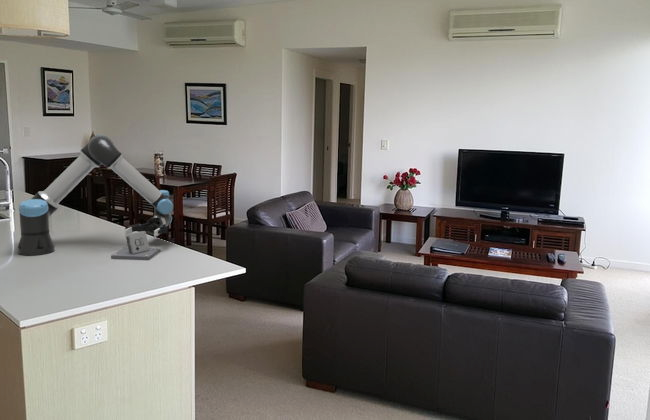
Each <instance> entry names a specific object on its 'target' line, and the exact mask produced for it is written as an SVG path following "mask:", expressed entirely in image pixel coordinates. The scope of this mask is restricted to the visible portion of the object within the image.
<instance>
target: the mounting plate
mask: <svg viewBox="0 0 650 420" xmlns="http://www.w3.org/2000/svg"><path fill="white" fill-rule="evenodd" d="M160 252H161V247H149V250H148V251H144V252H140V253H136V254H132V253H129V249H128V246H124V247H123V248H121V249H119V250H117V251H116V252H115V253H113V254H111V255H110V259H111V260H133V261H134V260H135V261H136V260H137V261H150V260H151V259H153V258H154V257H155V256H156V255H158V254H159V253H160Z"/></svg>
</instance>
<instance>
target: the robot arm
mask: <svg viewBox="0 0 650 420" xmlns="http://www.w3.org/2000/svg"><path fill="white" fill-rule="evenodd" d="M101 166H104V167H105V168H106V169H108V170H112V171H113V172H114V173H115V174H117V175H118V177H120V178H121V179H122V180H123V181H124V182H125V183H127V184H128V185H129V186H130V187H131V188H133V190H134V191H136V192H137V193H138V194H139V195H140V196H141V197H142V198H144V199H145V200H146V201H147V202H148V203H149V204H151V206H153V208H154V213H153V214H154V216H153V217H150V218H149V219H148V220H147V221H146V223H142V224H141V223H140V222H139V223H135V224H131V225H128V226H127V225H125V228H124V229H125V230H124V234H125V235H124V236H125V237H126V236H128V235H129V234H131V233H136V232H141V231H145V232H149V233H152V234H153V237H154V238H155V237H158V236H159V235H162V234H168V226H169V225H170V224H171V223H172V220H173V216H172V215H171V213H172V211H173V209H174V204H173V202H172V200H170V192H169V191H168V190H165V189H160V190H159V189H158V188H157V186H155V185H154V184H153V183H151V182H150V181H149V179H147V178H146V177H145V176H144V175H143V174H141V173H140V172H139V171H138V169H136V168H135V167H134V166H133V165H131V164H130V162H128V161H127V160H126V159H125V158H124V157H123V153H122V152H120V151H119V150H118V148H117V147H116V146H115V144H114V142H113V141H112V140H111V138H110V137H108V136H106V135H103V134H100V135H99V134H98V135H94V136H93V137H91V138H90V140H89V141H88V142H87V143H86V144H85V145H84V146H83V147H82V148H81V149H80V154H79V156H78V157H77V158H76V159H75V160H74V161H72V163H70V165H69V166H68V167H66V169H65V170H64V171H63V172H62V173H60V175H59V176H58V177H56V178H55V179H54V180H53V182H51V183H50V184H49V185H48V187H46V189H44V190H43V191H42V190H41V191H38V192H37V193H35V195H34V196H32V197H31V198H30V199H27V200H23V201H21V202H20V203H19V206H18V212H19V227H20V238H19V242H18V245H17V254H18V255H22V256H39V255H46V254H50V253H53V252H54V251H55V243H54V240H53V239H52V237H51V235H50V219H49V218H50V217H51V216H52V215H53V214H54V213H56V211H57V210H58V209H59V208H60V205H59V204H60V202H61V201H62V200H63V199H64V198H66V197H67V196H68V194H69V193H71V192H72V191H73V190H74V188H76V186H78V185H79V183H80V182H81V181H83V179H84V178H85V177H86V176H88V174H89V173H90V172H92V171H93V169H94V168H100V167H101Z"/></svg>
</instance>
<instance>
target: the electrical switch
mask: <svg viewBox="0 0 650 420" xmlns="http://www.w3.org/2000/svg"><path fill="white" fill-rule="evenodd" d="M147 236H148V235H147V231H135V232H132V233H131V234H129V235H127V236H125V239H126V244H127V247H128V249H129V253H132V254H136V253H140V252H144V251H148V250H149V248H150V245H149V240H148V237H147Z"/></svg>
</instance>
